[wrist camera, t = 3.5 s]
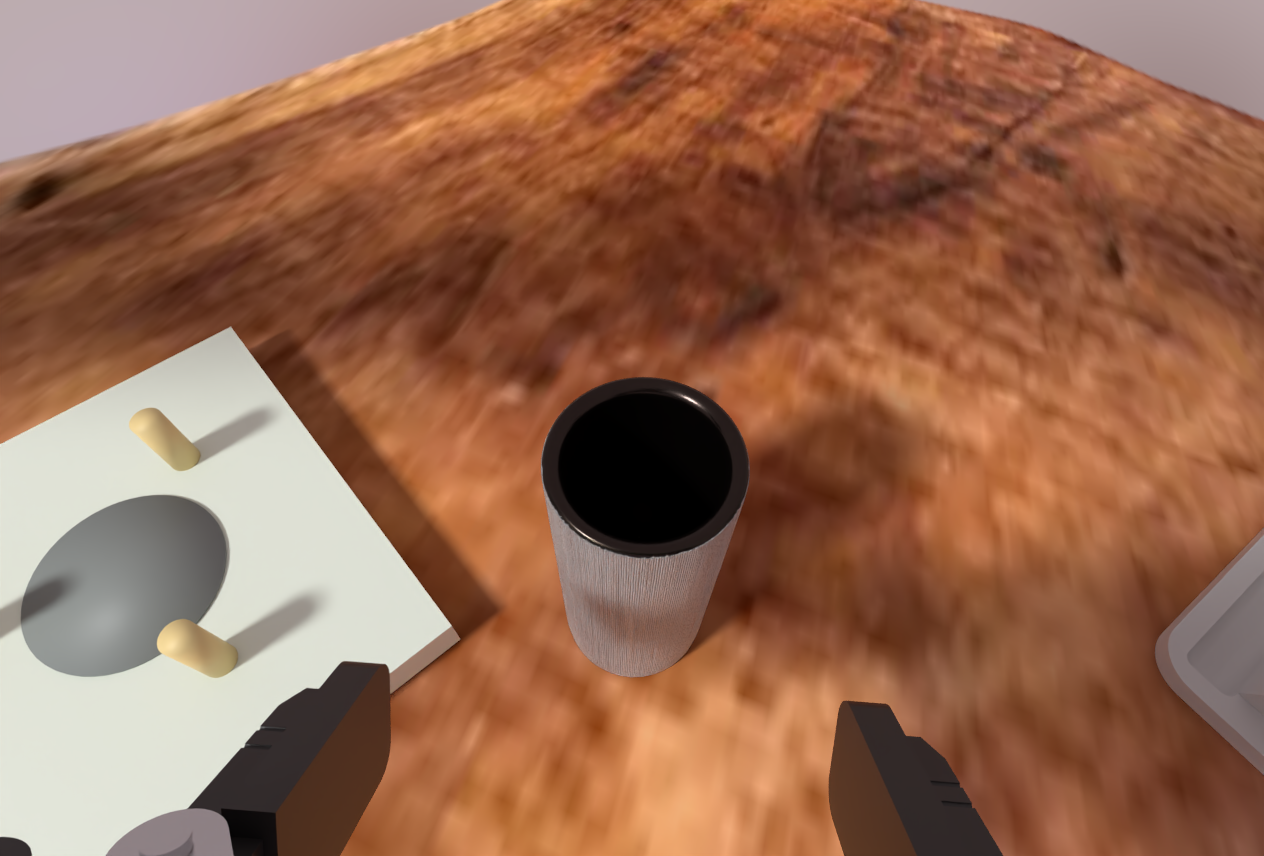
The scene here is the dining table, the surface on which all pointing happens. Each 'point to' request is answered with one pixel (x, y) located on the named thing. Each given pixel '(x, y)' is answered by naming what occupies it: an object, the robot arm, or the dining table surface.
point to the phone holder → (1223, 653)
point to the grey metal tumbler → (641, 516)
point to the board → (176, 594)
